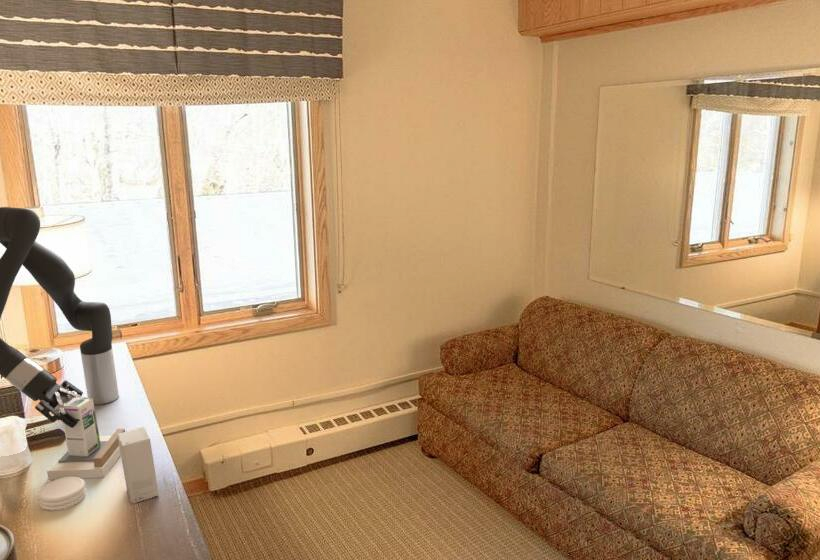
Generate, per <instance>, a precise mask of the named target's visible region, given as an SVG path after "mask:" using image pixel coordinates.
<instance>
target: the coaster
mask: <svg viewBox="0 0 820 560" xmlns="http://www.w3.org/2000/svg"><path fill="white" fill-rule="evenodd" d="M86 496H87V489H86V482H85V479H84V478H78V477H65V478H60V479H57V480H51V481H50V482H48V483H46V484H45V485H43V487H41V488H40V489H39V491H38V501H39V506H40V508H41V509H43V510H44V511H48V510H52V511H51V512H55V511H54V510H57V511H62V509H63V510H66V509H68V508H71V506H72V507H74V506H75V504H76V505H77V504H79V503H81V501H83V500H84V499H85V497H86ZM65 508H66V509H65Z"/></svg>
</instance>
